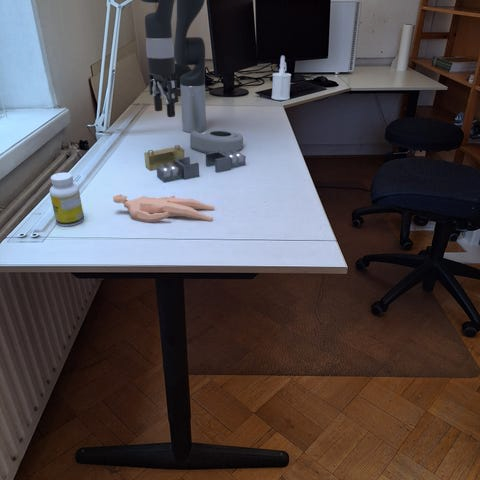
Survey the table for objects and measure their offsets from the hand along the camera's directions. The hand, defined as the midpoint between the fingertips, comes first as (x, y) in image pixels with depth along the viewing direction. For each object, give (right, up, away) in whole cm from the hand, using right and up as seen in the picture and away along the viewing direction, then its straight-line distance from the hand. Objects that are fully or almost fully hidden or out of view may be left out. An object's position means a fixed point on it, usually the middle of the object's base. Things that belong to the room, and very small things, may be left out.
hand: (164, 113), depth 132 cm
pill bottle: (-19, -33, -25) cm, 45 cm away
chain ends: (+11, -16, +5) cm, 20 cm away
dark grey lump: (-8, +39, +99) cm, 107 cm away
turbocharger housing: (+15, -6, +24) cm, 29 cm away
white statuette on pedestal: (+43, +34, +92) cm, 107 cm away
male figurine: (+3, -31, -20) cm, 38 cm away
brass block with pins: (-1, -14, +8) cm, 17 cm away
